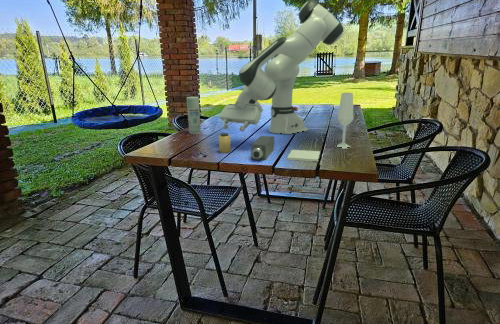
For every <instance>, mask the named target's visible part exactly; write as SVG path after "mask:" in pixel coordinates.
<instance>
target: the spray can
mask: <svg viewBox="0 0 500 324" xmlns="http://www.w3.org/2000/svg"><path fill="white" fill-rule="evenodd" d="M199 99H200V98H199V96H187V97H186V109H187V119H188V121H187V122H188V132H189V134H190V135H199V134H201V120H200V117H201V116H200V100H199Z"/></svg>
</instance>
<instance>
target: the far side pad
mask: <svg viewBox="0 0 500 324" xmlns="http://www.w3.org/2000/svg"><path fill="white" fill-rule="evenodd" d="M319 155H320V156H321V151H319V150H301V149H291V150H290V153H288V155H287V159H286V160H287V161H297V160H298V162H312V161H317V162H316V163H318V162H319V160H318V159H320V156H319Z"/></svg>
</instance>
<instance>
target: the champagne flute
mask: <svg viewBox="0 0 500 324" xmlns="http://www.w3.org/2000/svg"><path fill="white" fill-rule="evenodd" d="M353 120H354V93H353V92H341V94H340V100H339V107H338V113H337V121H338V122H339V123H340V124H341V125H342V137H341V138H342V140H341V142H340V143H338V144H336V145H337V147H342V148H341V149H348V148H347V147H350V148H351V145H349V144H347V143H346V132H347V126H348V125H350V124H351V123H352V122H353ZM337 147H336V148H337Z"/></svg>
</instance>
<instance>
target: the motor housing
mask: <svg viewBox="0 0 500 324" xmlns="http://www.w3.org/2000/svg"><path fill="white" fill-rule="evenodd" d="M250 147H251V148H250V149H251V151H250V153H251V154H250V157H251V159H252V160H257V161H258V160H263V161H264V160H265V161H266V160H267V159H268V158H269V157H270V156H271V154H272V153H273V152H274V150H275V136H271V135H270V136H269V135H260V136H259V137H258V138H257V139H256V140H254V142H252V143H251V144H250Z"/></svg>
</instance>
